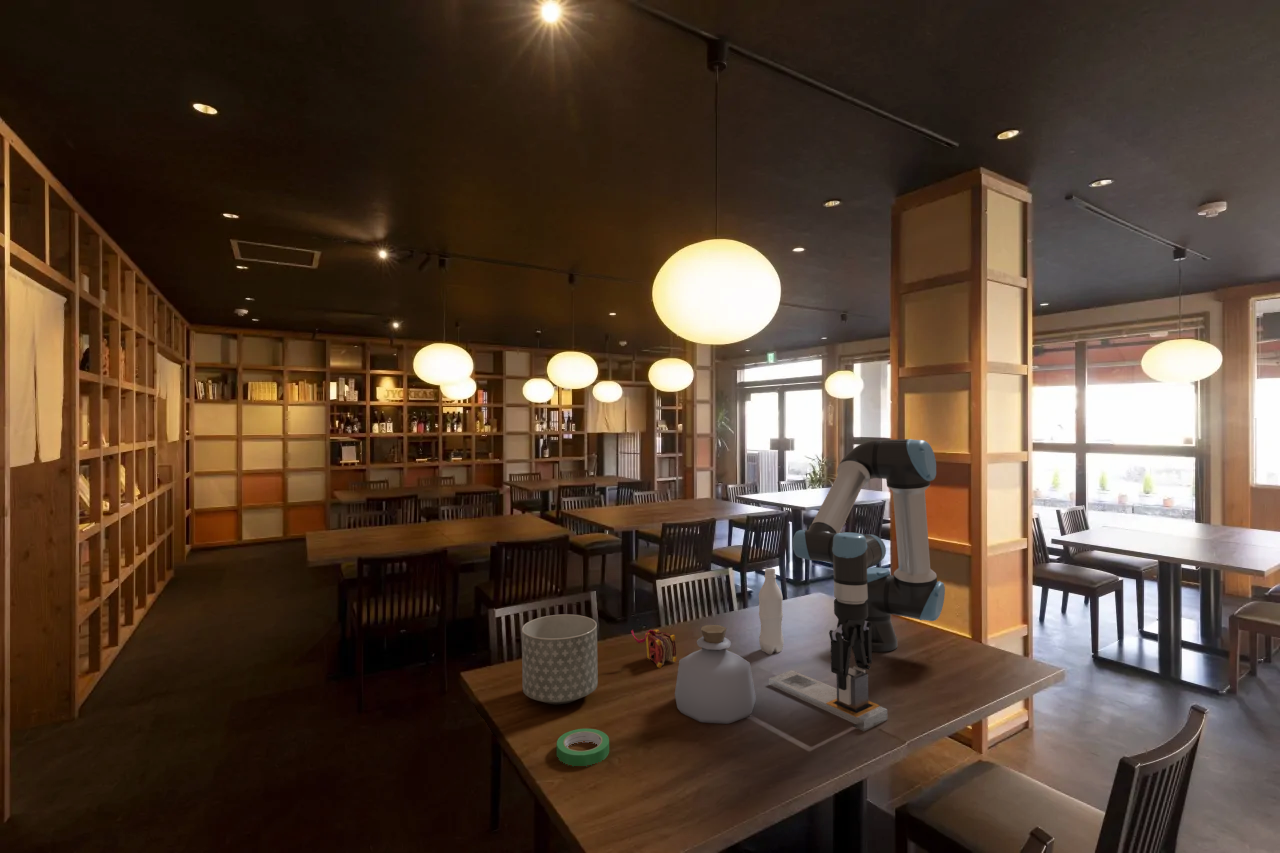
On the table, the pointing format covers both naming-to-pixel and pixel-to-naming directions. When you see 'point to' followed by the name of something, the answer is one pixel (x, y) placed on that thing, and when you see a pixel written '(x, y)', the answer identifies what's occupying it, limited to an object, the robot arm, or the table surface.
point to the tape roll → (585, 756)
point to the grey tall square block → (856, 691)
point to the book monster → (659, 646)
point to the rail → (827, 699)
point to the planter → (559, 658)
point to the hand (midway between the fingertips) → (852, 698)
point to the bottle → (714, 681)
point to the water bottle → (770, 614)
